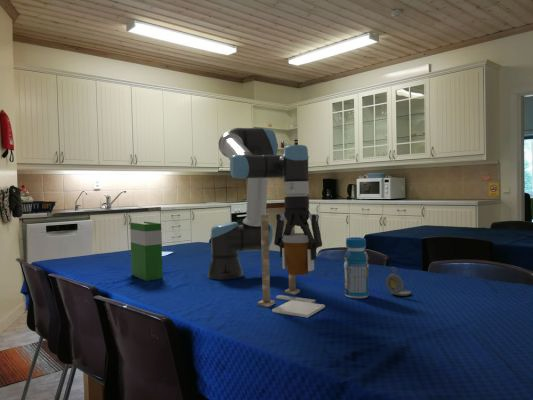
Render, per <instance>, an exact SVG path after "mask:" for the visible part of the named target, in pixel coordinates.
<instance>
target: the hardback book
mask: <svg viewBox="0 0 533 400" xmlns="http://www.w3.org/2000/svg"><path fill="white" fill-rule="evenodd" d="M129 229H130V230H129V232H130V237H129V238H130V260H131V261H130V262H131V263H130V264H131V265H130V266H131V276H133V275H134V276H133V277H135V278H138V279H140V280H143V281H145V282H148V281H155V280H160V279H164V278H163V276H164V275H163V244H162V243H163V240H162V222H153V221H143V223H138V222H129Z"/></svg>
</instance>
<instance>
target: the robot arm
mask: <svg viewBox="0 0 533 400" xmlns="http://www.w3.org/2000/svg"><path fill="white" fill-rule="evenodd" d="M218 149H219V151H220V153H221V154H222V155H223V156H224V157H225V158H228V160H229V170H230V171H229V172H230V176H231V177H232V178H234V179H241V180H243V179H244V180H245V179H247V190H246V191H247V192H246V194H247V195H246V216H245V218H244V219H242V224H238V222H237V221H231V222H223V223H219V224H215V225H213V226H212V227H211V230H210V239H211V243H210V244H211V261H210V264H209V266H208V267H209V268H208V271H207V278H209V279H212V280H219V281H221V280H233V279H239V278H241V277H243V276H244V275H243V273H244V272H243V269H242V265H241V262H240V259H239V252H252V251H253V252H255V251H258V252H260V251H262V244H261V216H262V215H267V201H268V183H269V182H268V179H275V178H276V179H283V185H284V186H283V188H284V189H283V190H284V195H286V196H284V210H285V211H284V213H277V214H276V217H275V218H276V227H275V228H276V229H275V234H274V233H273V231H274V229H273V226H272V224H270V221H269V220H268V227H269V248H270V247H271V245H272V243H273V244H274V246H278V247H279V256H280V258H281V259H282V261H281V262H282V263H281V264H282V269H283V270H285V269H287V263H286V256H285V249H284V242H283V240H282V238H283V235H290V234H291V231H292V229H293V227H294V228H295V227H300V229H301V230H302V232H303V233H304V235H305V236H306V235H308V245H309V247H310V248H309V249H308V272H312V271H315V260H317V249H318V248H321V247H322V246H323V241H322V235H321V230H320V225H319V218H320V215H319V214H318V213H317V214H314V213H311V212H310V197H309V196H308V195H309V194H310V186H309V158H310V157H309V152H308V151H309V150H308V147H307V146H306V145H303V144H291V145H290V144H289V145H285V146H284V147H283V152H282V153H283V154H278V149H279V148H278V139H277V136H276V133H275V131H274V130H273V129H272V128H264V127H258V128H257V127H234V128H231V129H229V130H227V131H225V132H224V133H223V134H222V135H221V136H220V138H219V140H218ZM285 220H286V224H285ZM308 220H310V222H311V223H310V224H311V229H310V224H309V222H308ZM284 225H285V227H284ZM284 228H285V229H284ZM273 234H274V235H275V236H274V235H273ZM273 237H274V238H273ZM273 239H274V242H273Z"/></svg>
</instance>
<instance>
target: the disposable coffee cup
mask: <svg viewBox="0 0 533 400" xmlns="http://www.w3.org/2000/svg"><path fill="white" fill-rule="evenodd" d="M282 236H283V238H282V240H283V242H284V249H285V256H286V263H287V268H286V269H287V274H288V275H289V274H290V275H295V276H305V275H308V274H309V271H308V249H309V248H310V247H309V245H308V235H306V236H305V235H304V232H303V233H301V232H294V233H291V234H290V235H283V234H282Z"/></svg>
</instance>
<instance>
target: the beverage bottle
mask: <svg viewBox="0 0 533 400" xmlns="http://www.w3.org/2000/svg"><path fill="white" fill-rule="evenodd" d="M345 246H346V249H347V250H346V251H345V254H344V255H343V256H344V257H343V260H344V263H343V269H344V295H345V296H346V297H347V298H351V299H365V298H368V297H369V296H370V289H369V268H370V264H369V262H368V260H369V256H368V252H367V251H366V250H365V249H366V247H367V240H366V238H365V237H361V236H360V237H354V236H353V237H346V239H345Z"/></svg>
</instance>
